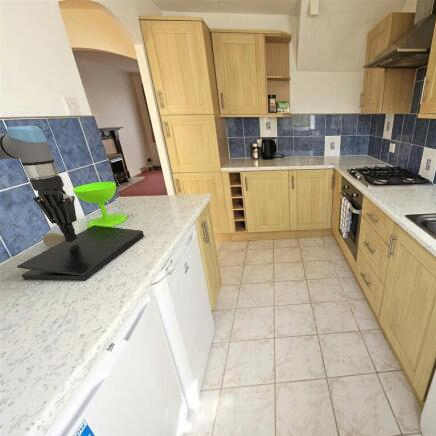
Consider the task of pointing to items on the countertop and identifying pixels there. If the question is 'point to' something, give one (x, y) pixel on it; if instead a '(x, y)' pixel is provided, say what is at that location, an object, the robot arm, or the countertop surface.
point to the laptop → (61, 276)
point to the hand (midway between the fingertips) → (72, 240)
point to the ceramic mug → (53, 237)
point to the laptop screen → (82, 251)
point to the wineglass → (100, 202)
